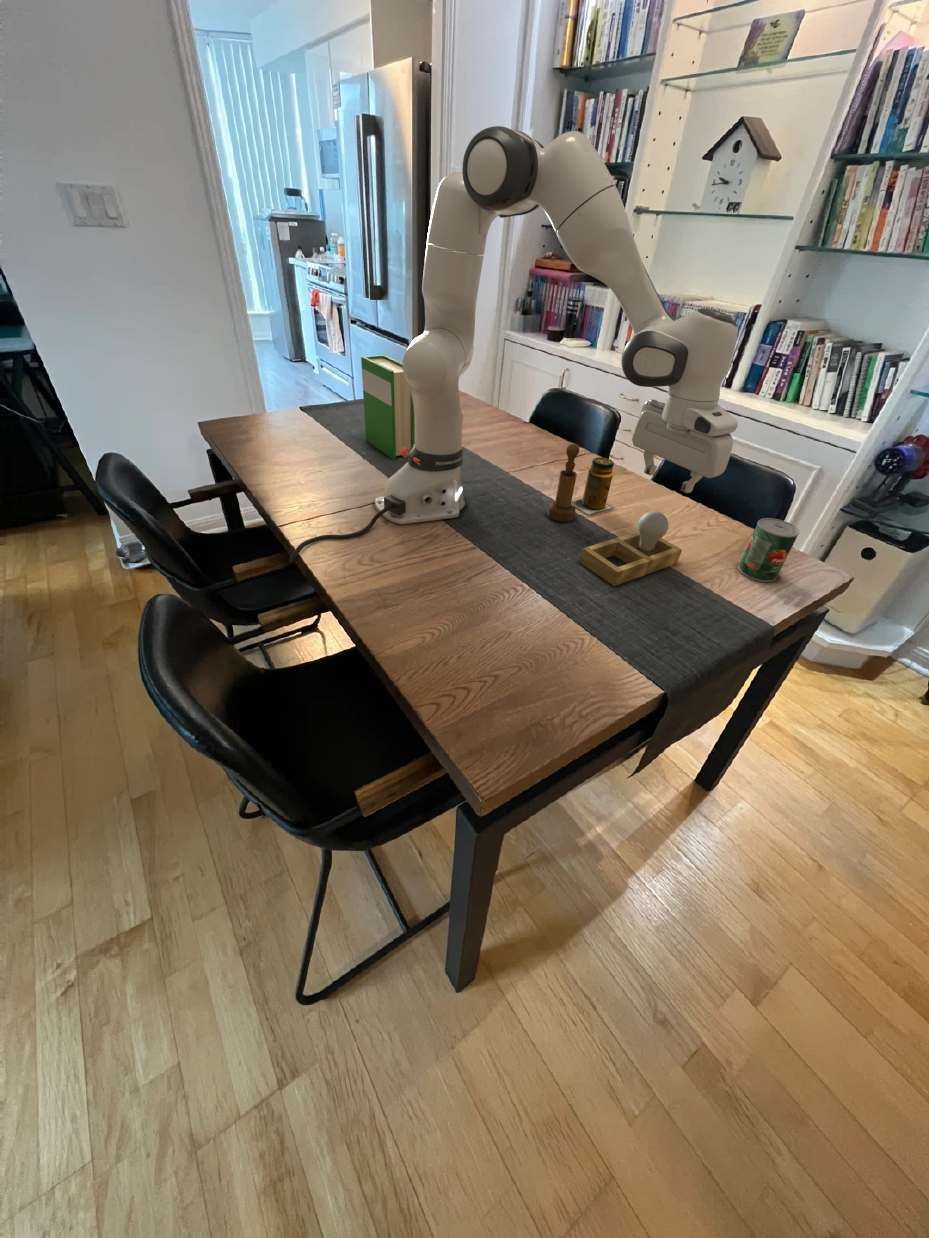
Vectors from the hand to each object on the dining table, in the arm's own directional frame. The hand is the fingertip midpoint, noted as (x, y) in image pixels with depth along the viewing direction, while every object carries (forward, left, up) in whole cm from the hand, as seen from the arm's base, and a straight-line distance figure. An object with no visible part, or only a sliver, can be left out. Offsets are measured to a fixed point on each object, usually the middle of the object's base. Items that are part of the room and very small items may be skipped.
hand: (667, 482), depth 106 cm
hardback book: (-22, +83, -18) cm, 88 cm away
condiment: (+7, +25, -18) cm, 32 cm away
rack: (-5, 0, -18) cm, 18 cm away
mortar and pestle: (-4, +24, -18) cm, 30 cm away
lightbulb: (0, 0, -18) cm, 18 cm away
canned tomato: (+18, -16, -18) cm, 30 cm away
